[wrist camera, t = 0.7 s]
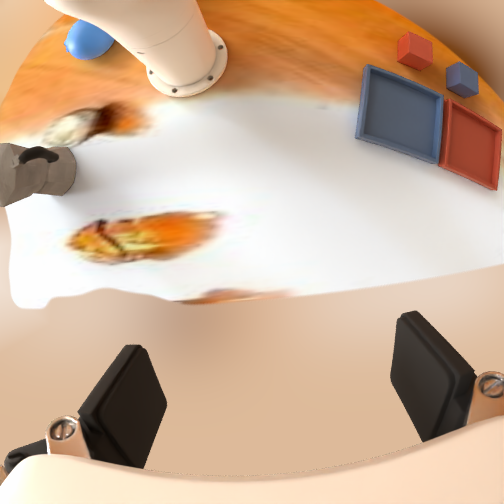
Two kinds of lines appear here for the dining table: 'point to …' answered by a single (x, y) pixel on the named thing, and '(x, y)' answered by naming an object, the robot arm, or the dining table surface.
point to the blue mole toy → (87, 41)
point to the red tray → (470, 145)
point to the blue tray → (400, 114)
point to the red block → (415, 51)
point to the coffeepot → (34, 171)
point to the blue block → (462, 80)
